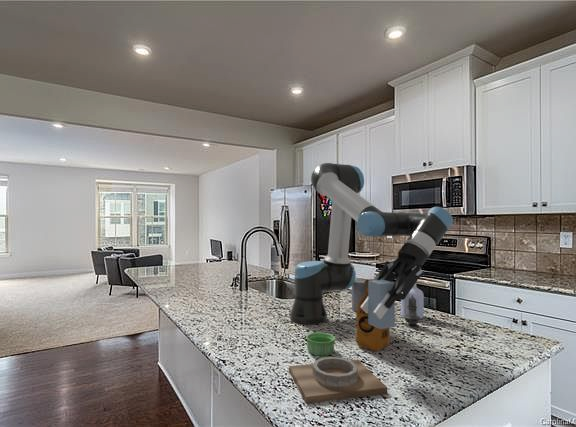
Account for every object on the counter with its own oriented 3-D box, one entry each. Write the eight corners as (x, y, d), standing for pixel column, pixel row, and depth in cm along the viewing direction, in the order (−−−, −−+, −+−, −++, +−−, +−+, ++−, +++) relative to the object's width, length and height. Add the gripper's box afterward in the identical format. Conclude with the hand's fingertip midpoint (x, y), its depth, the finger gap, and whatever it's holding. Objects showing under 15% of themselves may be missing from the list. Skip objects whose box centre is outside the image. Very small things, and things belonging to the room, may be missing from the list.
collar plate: (289, 371, 89) (289, 356, 89) (357, 365, 94) (358, 350, 94) (305, 403, 74) (306, 385, 74) (387, 393, 78) (387, 376, 78)
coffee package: (350, 346, 108) (351, 278, 109) (366, 335, 118) (366, 273, 119) (380, 353, 102) (380, 281, 103) (394, 342, 112) (394, 276, 113)
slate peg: (368, 323, 93) (368, 280, 93) (382, 321, 95) (382, 279, 95) (380, 329, 89) (379, 284, 89) (394, 326, 91) (394, 282, 91)
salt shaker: (421, 329, 126) (421, 297, 126) (405, 328, 127) (405, 296, 127) (418, 324, 132) (418, 294, 132) (403, 323, 133) (403, 293, 133)
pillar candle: (372, 308, 156) (372, 276, 156) (374, 313, 146) (373, 279, 146) (351, 307, 157) (351, 275, 158) (351, 313, 148) (351, 279, 148)
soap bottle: (397, 313, 147) (397, 257, 148) (417, 313, 148) (417, 257, 148) (406, 319, 138) (406, 260, 139) (427, 319, 139) (427, 260, 139)
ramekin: (336, 347, 107) (336, 333, 108) (333, 358, 99) (333, 343, 99) (308, 344, 109) (308, 331, 110) (303, 355, 101) (303, 340, 101)
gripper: (448, 262, 90) (401, 331, 83) (401, 256, 107) (358, 313, 100) (434, 243, 88) (384, 312, 81) (388, 239, 105) (343, 297, 98)
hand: (370, 312), depth 91 cm, fingers closed on slate peg, 5 cm apart
